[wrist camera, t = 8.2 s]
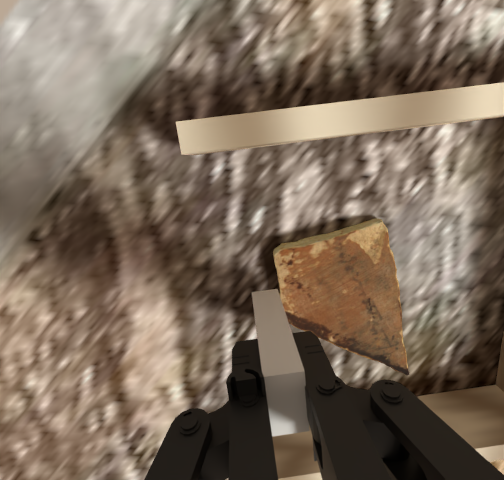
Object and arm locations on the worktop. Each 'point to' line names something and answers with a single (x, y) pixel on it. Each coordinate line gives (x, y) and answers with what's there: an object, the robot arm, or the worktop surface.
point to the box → (349, 124)
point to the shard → (345, 291)
